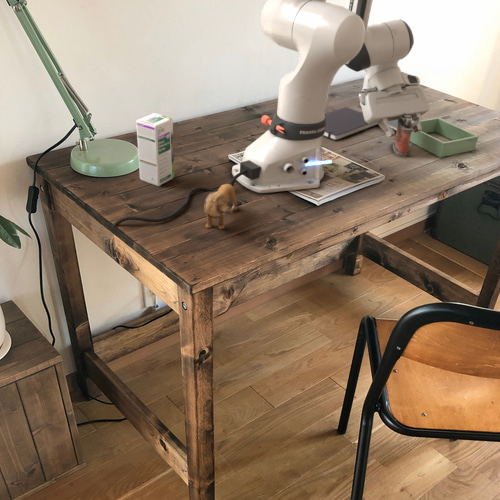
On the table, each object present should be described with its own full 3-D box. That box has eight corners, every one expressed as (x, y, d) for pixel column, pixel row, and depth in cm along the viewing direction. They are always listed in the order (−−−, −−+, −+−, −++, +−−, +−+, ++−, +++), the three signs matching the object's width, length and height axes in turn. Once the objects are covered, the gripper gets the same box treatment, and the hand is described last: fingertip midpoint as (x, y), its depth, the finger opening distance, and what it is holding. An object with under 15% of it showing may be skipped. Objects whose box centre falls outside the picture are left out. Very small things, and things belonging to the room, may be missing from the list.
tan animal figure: (226, 240, 112) (228, 199, 107) (199, 236, 112) (200, 195, 107) (239, 204, 124) (241, 166, 119) (215, 201, 125) (216, 163, 120)
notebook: (345, 111, 178) (300, 127, 165) (346, 106, 177) (301, 121, 164) (379, 124, 171) (335, 140, 158) (380, 119, 170) (336, 135, 157)
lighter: (409, 157, 151) (417, 120, 146) (396, 156, 151) (404, 120, 146) (402, 145, 158) (410, 110, 152) (390, 144, 158) (397, 109, 152)
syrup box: (158, 187, 129) (157, 125, 121) (138, 179, 131) (135, 118, 123) (174, 178, 133) (173, 118, 125) (154, 171, 135) (152, 111, 127)
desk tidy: (440, 157, 152) (443, 143, 150) (401, 136, 163) (404, 123, 161) (474, 150, 158) (478, 136, 156) (435, 130, 169) (438, 117, 167)
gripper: (364, 83, 145) (382, 134, 144) (423, 76, 154) (440, 123, 153) (350, 95, 151) (367, 144, 149) (408, 87, 160) (425, 133, 158)
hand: (405, 133), depth 151 cm, fingers open, 8 cm apart
